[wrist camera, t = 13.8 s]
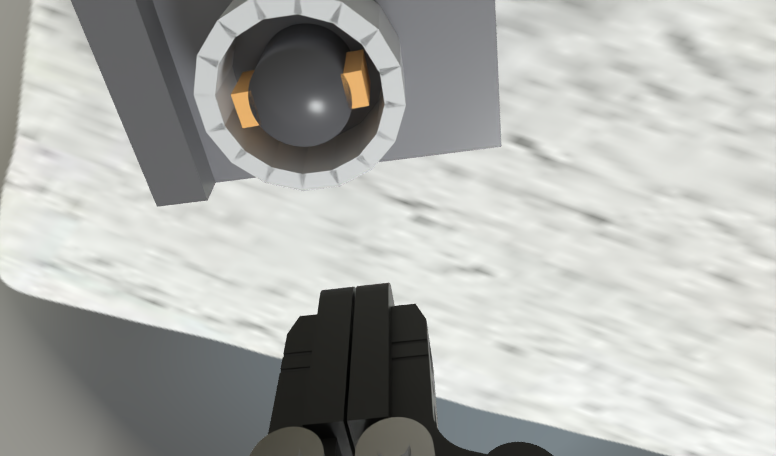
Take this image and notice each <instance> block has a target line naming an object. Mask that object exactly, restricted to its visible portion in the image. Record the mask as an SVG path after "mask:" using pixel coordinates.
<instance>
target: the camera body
mask: <svg viewBox="0 0 776 456" xmlns="http://www.w3.org/2000/svg"><path fill="white" fill-rule="evenodd" d="M71 2H72V4H73V6H74V9H75V11H76V14H77V16H78V18H79V21H80V23H81V26H82V28H83V30H84V33H85V35H86V38H87V40H88V42H89V45H90V47H91V49H92V52H93V54H94V57H95V59H96V61H97V64H98V66H99V69H100V71H101V73H102V76H103V78H104V81H105V83H106V85H107V88H108V90H109V93H110V95H111V97H112V100H113V102H114V105H115V107H116V109H117V112H118V114H119V116H120V119H121V121H122V124H123V126H124V128H125V131H126V133H127V136H128V138H129V140H130V143H131V145H132V148H133V150H134V152H135V155H136V157H137V160H138V162H139V164H140V167H141V169H142V172H143V174H144V176H145V179H146V181H147V183H148V186H149V188H150V191H151V193H152V195H153V198H154V200H155V203H156V205H157V207H158V206H166V205H174V204H182V203H190V202H198V201H206V200H208V198H209V196H210V194H211V192H212V189H213V187H214V185H215V183H216V182H224V181H232V180H240V179H248V178H258V179H260V180H261V181H263V182H265V183H268V184H273V185H278V186H282V187H287V188H292V189H296V190H301V191H306V190H314V189H322V188H330V187H338V186H341V185H343V184H345V183H347V182H349V181H351V180H353V179H355V178H357V177H359V176H360V175H362V174H364V173H366V172H368V171H370V170H372V169H373V168H374V166H375V165H376V164H377V163H378V162H383V161H391V160H399V159H407V158H415V157H423V156H431V155H439V154H447V153H455V152H463V151H470V150H478V149H486V148H494V147H501V127H500V105H499V82H498V60H497V37H496V14H495V0H71ZM301 23H310V24H316V25H320V26H323V27H325V28H328V29H329V30H331V31H333V32H334V33H336V34H337V35H338V36H339V37H340V38H341V39H343V41H344V42H345V43H346V44H347V46H348V47H349V49H350V51H357V50H362V49H363V50H364V54H365V59H366V64H367V68H368V73H369V77H370V82H371V84H370V100H369V106H365V107H359V108H354V109H351V114H350V117H349V119H348V122H347V123H346V125H345V127H344V128H343V129H342V130H341V132H340V133H339V134H337V135H336V136H335V137H334V138H332V139H331V140H329V141H327V142H325V143H322V144H320V145H316V146H309V147H299V146H293V145H289V144H286V143H283V142H280V141H278V140H276V139H275V138H273V137H272V136H270V135H269V134H268V133H266V132H265V131H264V130H263V129H262V128H261V127H260V125H259V126H253V127H247V128H242V125H241V122H240V119H239V117H238V114H237V111H236V108H235V105H234V103H233V100H232V97H231V93H232V91H233V89H234V88H235V86H236V84H237V82H238V80H239V78H240V76H241V74H242V73H243V72H246V71H251V70H255V69H256V67H257V65H258V63H259V61H260V58H261V56H262V54H263V52H264V50H265V48H266V46H267V44H268V43H269V41H270V40H271V39H272V38H273V37H274V35H276V34H277V33H278V32H279V31H281V30H282V29H284V28H286V27H289V26H291V25H295V24H301Z"/></svg>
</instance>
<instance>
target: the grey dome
mask: <svg viewBox="0 0 776 456" xmlns="http://www.w3.org/2000/svg"><path fill="white" fill-rule="evenodd" d="M370 84H371V82H370V77H369V73H368V68H367V64H366V59H365V54H364V50H363V49H362V50H357V51H350V49H349V47H348V46H347V44H346V43H345V42H344V41H343V39H341V38H340V37H339V36H338V35H337V34H336V33H334V32H333V31H331V30H329V29H328V28H325V27H323V26H320V25H316V24H310V23H301V24H295V25H291V26H289V27H286V28H284V29H282V30H281V31H279V32H278V33H277V34H276V35H274V37H273V38H272V39H271V40H270V41H269V43H268V44H267V46H266V48H265V50H264V52H263V54H262V56H261V58H260V61H259V63H258V65H257V67H256V69H255V70H251V71H246V72H243V73H242V74H241V76H240V78H239V80H238V82H237V84H236V86H235V88H234V89H233V91H232V93H231V97H232V100H233V103H234V105H235V108H236V111H237V114H238V117H239V119H240V122H241V125H242V128H247V127H253V126H259V125H260V127H261V128H262V129H263V130H264V131H265V132H266V133H268V134H269V135H270V136H272V137H273V138H275V139H276V140H278V141H280V142H283V143H286V144H289V145H293V146H299V147H309V146H316V145H320V144H322V143H325V142H327V141H329V140H331V139H332V138H334V137H335V136H336V135H337V134H339V133H340V132H341V130H342V129H343V128H344V127H345V125H346V123H347V122H348V119H349V117H350V114H351V109H354V108H359V107H365V106H369V100H370Z"/></svg>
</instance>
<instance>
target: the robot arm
mask: <svg viewBox="0 0 776 456" xmlns="http://www.w3.org/2000/svg"><path fill="white" fill-rule="evenodd" d="M250 456H553V455H552V454H550V453H549V452H548V451H546V450H545V449H543V448H541V447H539V446H537V445H534V444H531V443H525V442H511V443H506V444H503V445H500V446H498V447H496V448H495V449H493V450H492V451H490V452H489V453H488V454H483V453H478V452H474V451H469V450H466V449H462V448H460V447H458V446H456V445H454V444H452V443H450V442H449V441H448V440H447V439H446V438H444V437H443V435H442V434H441V433H440V432H439V430H438V421H437V409H436V395H435V382H434V370H433V362H432V355H431V348H430V342H429V335H428V328H427V321H426V318H425V317H424V315H423V314H422V313H421V311H420V310H419V308H418V307H417V305H416V304H409V305H399V306H394V300H393V295H392V290H391V285H390V283H382V284H373V285H364V286H357V287H356V288H355V287H347V288H338V289H329V290H322V291H321V293H320V299H319V306H318V313H317V314H316V315H307V316H300V317H299V318H298V320H297V321H296V322H295V324H294V325H293V327H292V328H291V330H290V331H289V332H288V334H287V338H286V343H285V348H284V357H283V359H282V365H281V373H280V375H279V380H278V385H277V391H276V396H275V401H274V407H273V412H272V417H271V422H270V428H269V432H268V435H267V436H265V437H264V438H263V439H262V440H260V441H259V442H258V443H257V445H256V446H255V447H254V449H253V450H252V452H251V453H250Z"/></svg>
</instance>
